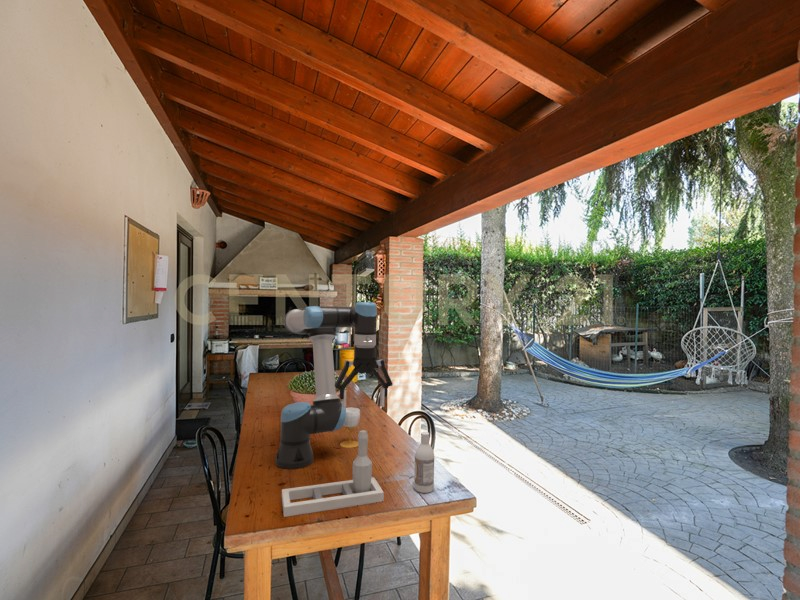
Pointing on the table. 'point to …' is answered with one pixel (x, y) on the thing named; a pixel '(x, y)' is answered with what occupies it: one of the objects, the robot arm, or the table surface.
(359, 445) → the low poly bottle
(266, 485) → the table surface
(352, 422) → the cup
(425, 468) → the bath foam
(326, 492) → the white rectangular compartment rack
